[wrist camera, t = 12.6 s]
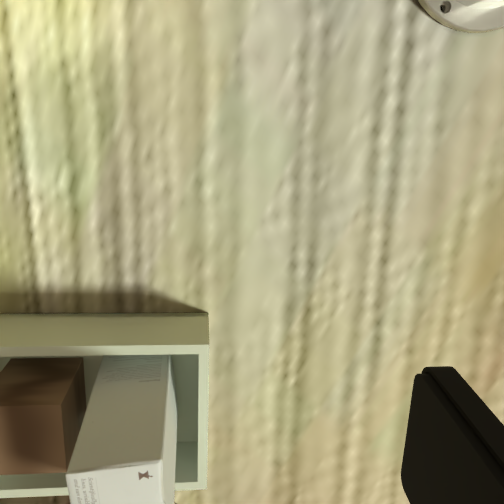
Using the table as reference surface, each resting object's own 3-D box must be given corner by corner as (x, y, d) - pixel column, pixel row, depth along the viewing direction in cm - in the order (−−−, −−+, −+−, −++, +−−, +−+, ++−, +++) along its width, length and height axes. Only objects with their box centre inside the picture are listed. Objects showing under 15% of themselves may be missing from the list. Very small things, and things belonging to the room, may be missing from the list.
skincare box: (105, 345, 42) (56, 467, 28) (175, 340, 42) (162, 457, 28) (116, 427, 44) (76, 578, 30) (182, 421, 45) (173, 567, 31)
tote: (208, 312, 43) (209, 344, 37) (206, 442, 47) (206, 489, 41) (-25, 313, 41) (-62, 347, 35) (-7, 449, 45) (-38, 499, 39)
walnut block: (83, 357, 42) (60, 404, 35) (87, 416, 44) (66, 472, 37) (10, 358, 41) (-26, 406, 35) (17, 418, 43) (-16, 475, 36)
